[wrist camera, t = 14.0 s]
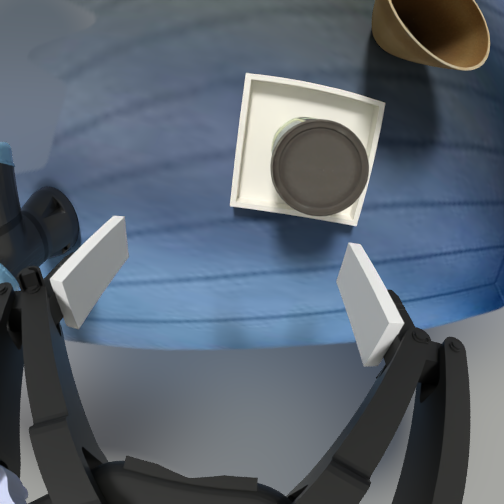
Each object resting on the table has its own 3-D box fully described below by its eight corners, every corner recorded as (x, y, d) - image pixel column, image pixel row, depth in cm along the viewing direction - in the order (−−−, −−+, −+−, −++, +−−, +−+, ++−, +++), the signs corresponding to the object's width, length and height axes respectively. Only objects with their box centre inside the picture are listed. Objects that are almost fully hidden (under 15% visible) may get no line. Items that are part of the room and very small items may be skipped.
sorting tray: (232, 199, 44) (229, 206, 41) (247, 75, 34) (245, 73, 31) (351, 218, 44) (356, 226, 42) (378, 102, 34) (385, 102, 32)
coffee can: (329, 109, 35) (358, 111, 23) (344, 174, 40) (375, 205, 28) (261, 125, 37) (257, 133, 25) (280, 189, 42) (285, 226, 30)
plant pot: (444, 54, 27) (505, 47, 13) (391, 92, 33) (447, 91, 19) (389, -14, 23) (433, -49, 9) (328, 19, 28) (357, -22, 14)
